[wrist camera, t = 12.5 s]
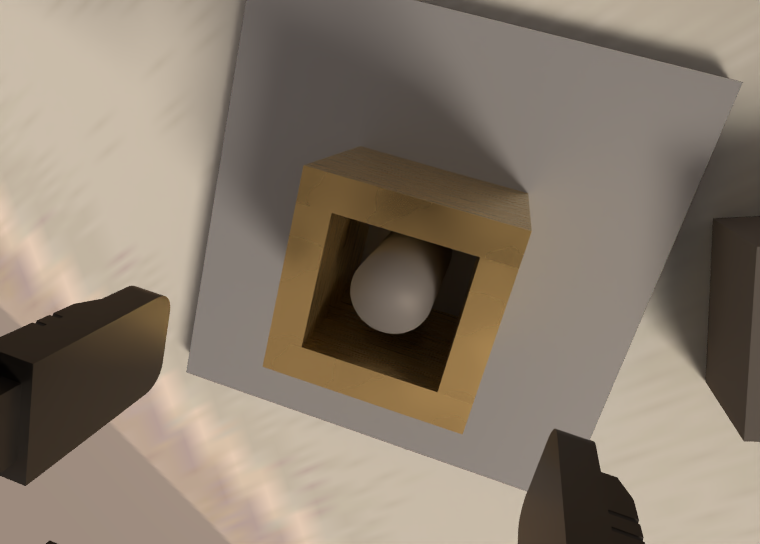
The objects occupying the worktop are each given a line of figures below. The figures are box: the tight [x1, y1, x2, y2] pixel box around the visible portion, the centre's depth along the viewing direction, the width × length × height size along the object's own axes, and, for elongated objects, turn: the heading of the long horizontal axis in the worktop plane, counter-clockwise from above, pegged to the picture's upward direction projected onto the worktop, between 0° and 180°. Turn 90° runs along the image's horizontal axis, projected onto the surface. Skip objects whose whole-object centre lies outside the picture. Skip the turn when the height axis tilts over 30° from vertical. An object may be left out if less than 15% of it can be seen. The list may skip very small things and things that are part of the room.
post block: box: [186, 0, 743, 491], centre depth 20 cm, size 16×16×6 cm
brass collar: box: [263, 146, 532, 435], centre depth 19 cm, size 6×6×6 cm
